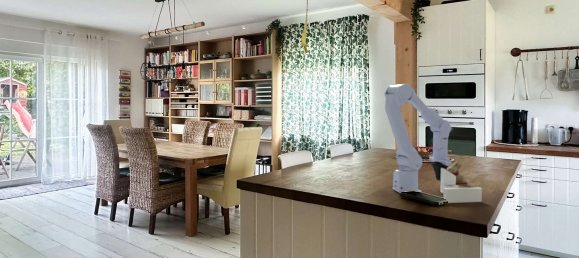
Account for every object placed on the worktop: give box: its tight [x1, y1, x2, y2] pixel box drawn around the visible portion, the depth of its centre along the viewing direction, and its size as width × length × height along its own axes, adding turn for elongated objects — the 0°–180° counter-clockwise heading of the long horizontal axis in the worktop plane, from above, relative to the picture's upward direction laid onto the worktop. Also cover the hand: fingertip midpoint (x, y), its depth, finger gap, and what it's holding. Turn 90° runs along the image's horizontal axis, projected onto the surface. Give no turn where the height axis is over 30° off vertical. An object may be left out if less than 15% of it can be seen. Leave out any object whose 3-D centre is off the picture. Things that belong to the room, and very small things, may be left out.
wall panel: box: [442, 186, 483, 204], centre depth 138 cm, size 14×2×5 cm, turn 97°
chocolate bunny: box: [446, 160, 468, 184], centre depth 173 cm, size 6×8×10 cm
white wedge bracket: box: [439, 168, 460, 194], centre depth 151 cm, size 4×10×9 cm, turn 105°
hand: (439, 180), depth 160 cm, fingers closed
